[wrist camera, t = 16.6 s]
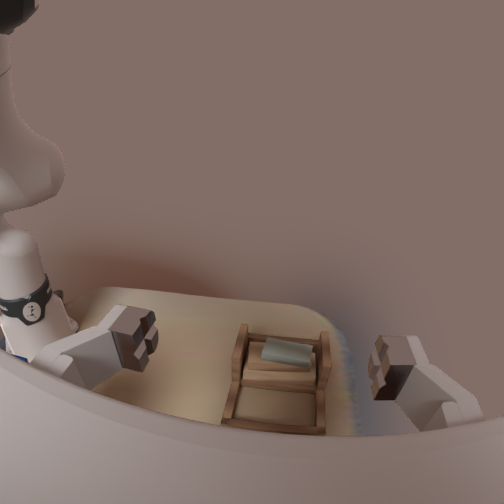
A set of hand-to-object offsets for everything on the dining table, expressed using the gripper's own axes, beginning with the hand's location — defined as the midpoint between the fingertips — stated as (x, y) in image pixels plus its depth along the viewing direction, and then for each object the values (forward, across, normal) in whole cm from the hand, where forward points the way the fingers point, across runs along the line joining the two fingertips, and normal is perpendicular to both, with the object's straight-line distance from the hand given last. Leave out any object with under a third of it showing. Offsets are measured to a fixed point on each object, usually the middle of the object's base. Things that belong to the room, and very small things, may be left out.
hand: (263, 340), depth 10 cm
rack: (+24, -2, +32) cm, 40 cm away
